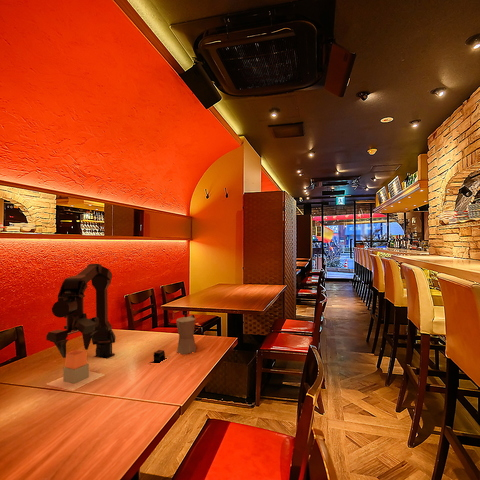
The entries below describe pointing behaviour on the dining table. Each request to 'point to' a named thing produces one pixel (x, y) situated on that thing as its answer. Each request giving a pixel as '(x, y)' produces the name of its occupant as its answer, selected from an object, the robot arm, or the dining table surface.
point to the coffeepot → (186, 334)
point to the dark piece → (159, 356)
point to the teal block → (75, 374)
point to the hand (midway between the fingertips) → (75, 353)
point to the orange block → (76, 359)
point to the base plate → (71, 386)
